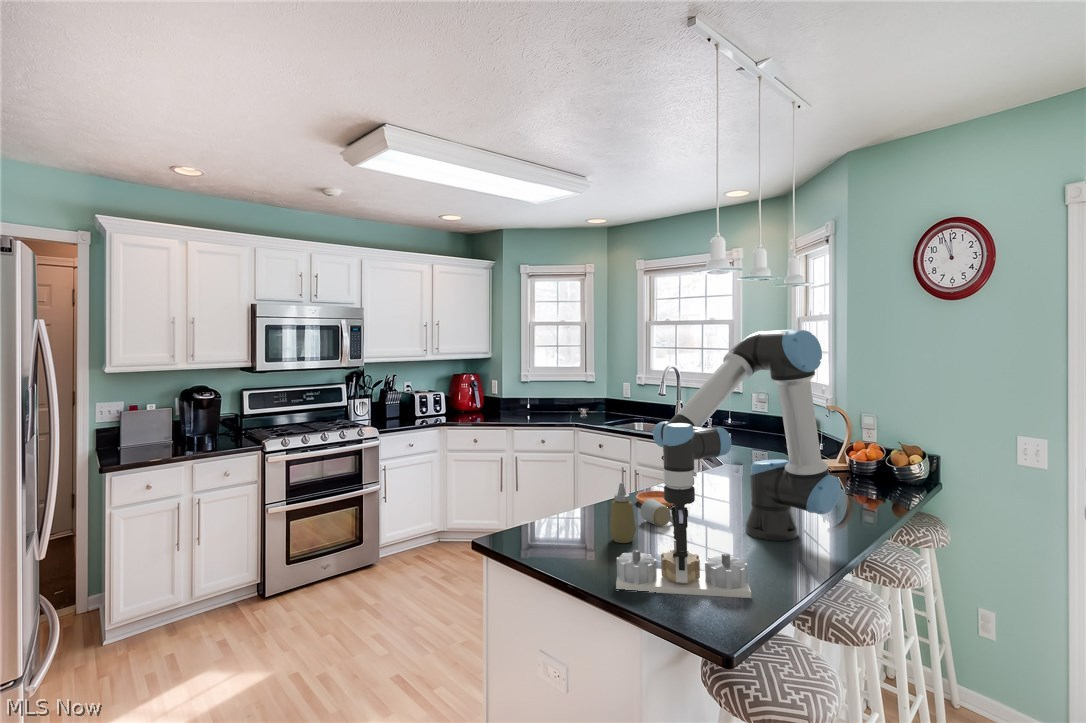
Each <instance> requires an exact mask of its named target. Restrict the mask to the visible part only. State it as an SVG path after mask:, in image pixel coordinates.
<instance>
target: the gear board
mask: <svg viewBox="0 0 1086 723" xmlns="http://www.w3.org/2000/svg"><path fill="white" fill-rule="evenodd" d="M679 552H684V551H679ZM748 575H749V573H748V563H747V562H744V561H743V560H741V558H739V557H733V556H732V557H731V555H730V554H729V553H722V554H720V555H719V556H709V557H707V560H705V561H704V570H700V578H699V579H694V580H691V582H688V583H680V582H674V581H671V579H669V578H667V577H663V576H662V571H661V568H657V558H654V557H653V555H652V554H650V553H644V552H641V550H639V549H633V550H632V552H623V553H621V555H620V556H617V557H616V581H615V590H616V589H625V590H638V591H649V592H648V593H654V592H656V594H657V593H658V594H673V595H675V594H676V595H691V596H692V595H693V596H694V595H695V596H696V595H697V596H707V597H710V596H711V597H724V598H725V597H727V598H741V599H742V598H743V599H744V598H746V599H752V590H751V588H750V586H749V581H748V578H749V576H748Z"/></svg>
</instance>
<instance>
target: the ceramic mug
mask: <svg viewBox="0 0 1086 723" xmlns="http://www.w3.org/2000/svg"><path fill="white" fill-rule="evenodd" d="M640 516H641V518H642V519H643V520H644V521H646V522H648V523H650V524H653V525H654V526H656V527H665V526H666V525H668V523H669V522H670V523H673V520H672V512H671V511H670V509H669V507H668V508H667V507H666V506H665V505H663V504H661V503H659V502H658V501H656V500H654V499H648V500H646V501H645V502H644V503H643V504H642V505H641V507H640Z"/></svg>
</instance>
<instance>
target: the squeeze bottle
mask: <svg viewBox="0 0 1086 723" xmlns="http://www.w3.org/2000/svg"><path fill="white" fill-rule="evenodd" d="M633 505H634V504H633V502H632V501H631V500H630V494H629V493H627V491H626V487H625V483H624V482H619V485H618V490H617V492H616V493H615V494H614V500H613V501H612V502H611V509H610V510H611V511H610V521H609V522H610V523H609V532H610V534H611V536H612V541H613V542H615V543H619V544H630V543H632V541H633V539H634V537H635V533H636V528H637V527H636V521H635V513H634V506H633Z"/></svg>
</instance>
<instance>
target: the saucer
mask: <svg viewBox="0 0 1086 723" xmlns="http://www.w3.org/2000/svg"><path fill="white" fill-rule="evenodd" d="M648 499H654V500H656V501H658V502H659V503H661V504H663V505H665V506H666V507H668V508H671V506H672V507H674V506H673V505H674V504H673V503H668V502H666V501H665V499H664V490H647V491H646V490H645V491H642V492H639V493H637V494H636V495H635V500H636V501H637V502H638V503H639V504H640V505H641V506H642V504H643V503H644V502H645V501H646V500H648Z"/></svg>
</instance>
